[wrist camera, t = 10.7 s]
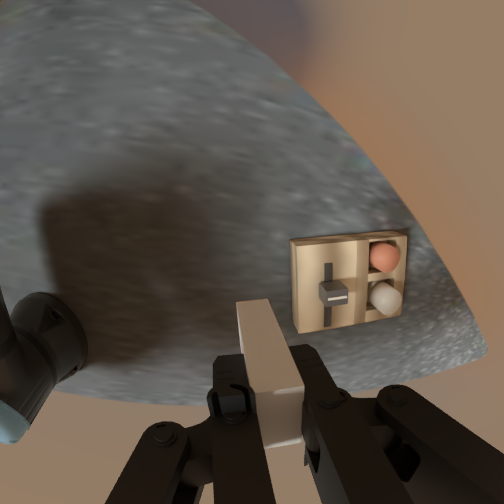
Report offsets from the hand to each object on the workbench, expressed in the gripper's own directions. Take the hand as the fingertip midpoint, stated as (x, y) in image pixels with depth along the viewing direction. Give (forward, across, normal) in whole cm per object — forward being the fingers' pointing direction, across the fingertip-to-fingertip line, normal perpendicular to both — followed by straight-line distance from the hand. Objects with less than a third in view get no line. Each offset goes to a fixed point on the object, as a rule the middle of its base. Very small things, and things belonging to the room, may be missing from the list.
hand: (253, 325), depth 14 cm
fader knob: (+21, +12, -7) cm, 25 cm away
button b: (+21, +20, -9) cm, 30 cm away
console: (+25, +16, -8) cm, 30 cm away
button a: (+23, +20, -4) cm, 30 cm away
